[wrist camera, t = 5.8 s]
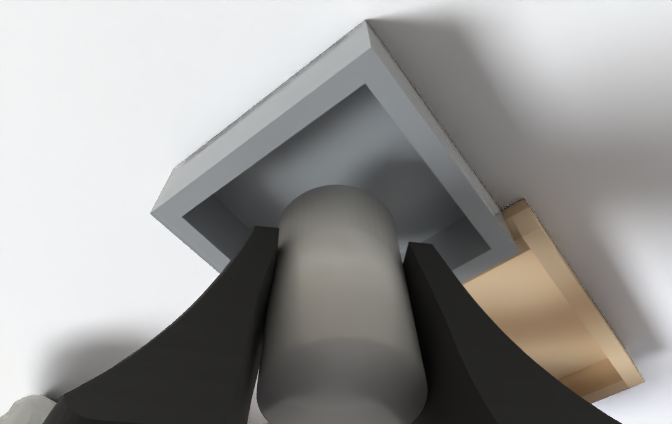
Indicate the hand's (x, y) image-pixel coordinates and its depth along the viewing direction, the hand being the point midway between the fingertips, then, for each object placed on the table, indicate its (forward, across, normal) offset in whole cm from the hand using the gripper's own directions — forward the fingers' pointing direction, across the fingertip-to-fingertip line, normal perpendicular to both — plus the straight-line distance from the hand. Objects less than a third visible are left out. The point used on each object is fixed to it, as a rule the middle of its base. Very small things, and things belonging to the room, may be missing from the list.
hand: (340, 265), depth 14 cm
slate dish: (+4, 0, 0) cm, 4 cm away
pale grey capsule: (+2, 0, 0) cm, 2 cm away
